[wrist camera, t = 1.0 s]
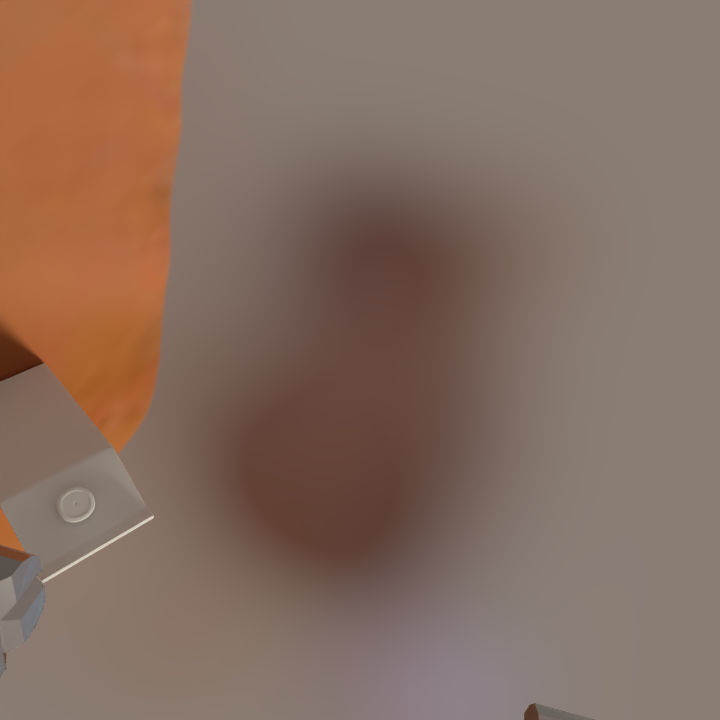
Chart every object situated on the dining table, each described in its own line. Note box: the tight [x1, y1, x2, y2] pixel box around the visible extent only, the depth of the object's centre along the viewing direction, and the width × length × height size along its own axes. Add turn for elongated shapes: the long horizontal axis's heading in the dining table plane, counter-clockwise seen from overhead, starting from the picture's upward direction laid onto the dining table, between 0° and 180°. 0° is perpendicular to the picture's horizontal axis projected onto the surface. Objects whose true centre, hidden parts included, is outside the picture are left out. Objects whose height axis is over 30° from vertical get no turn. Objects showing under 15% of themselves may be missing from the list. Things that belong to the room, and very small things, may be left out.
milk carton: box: [0, 364, 154, 583], centre depth 46 cm, size 7×7×19 cm
